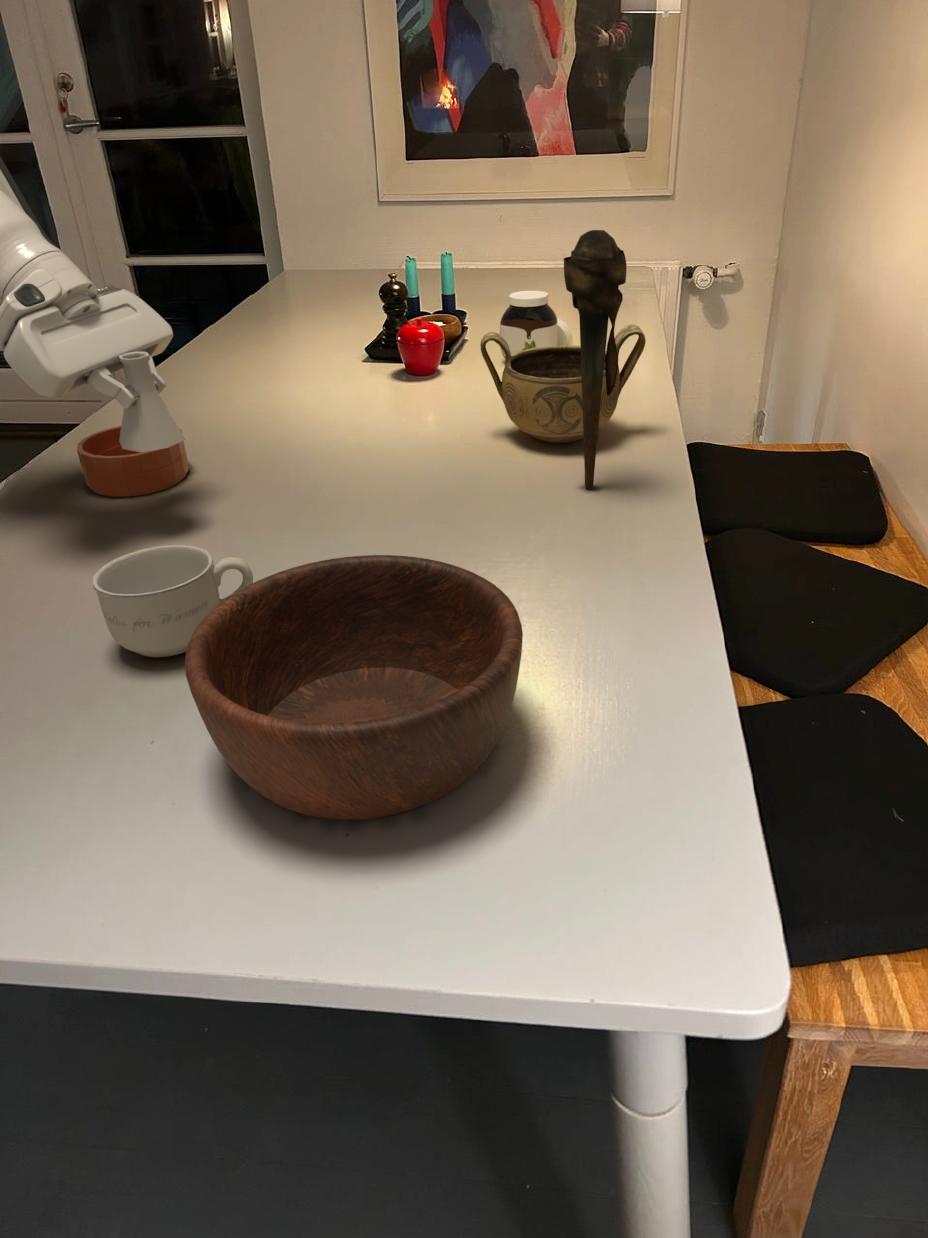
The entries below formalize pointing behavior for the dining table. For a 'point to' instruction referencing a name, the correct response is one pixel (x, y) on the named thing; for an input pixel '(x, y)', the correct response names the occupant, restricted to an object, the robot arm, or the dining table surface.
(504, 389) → the ceramic bowl
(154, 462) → the terracotta bowl
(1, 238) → the robot arm
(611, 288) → the decorative torch
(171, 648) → the teacup
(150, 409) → the flask
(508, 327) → the spread jar
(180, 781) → the dining table surface
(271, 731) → the wooden bowl
